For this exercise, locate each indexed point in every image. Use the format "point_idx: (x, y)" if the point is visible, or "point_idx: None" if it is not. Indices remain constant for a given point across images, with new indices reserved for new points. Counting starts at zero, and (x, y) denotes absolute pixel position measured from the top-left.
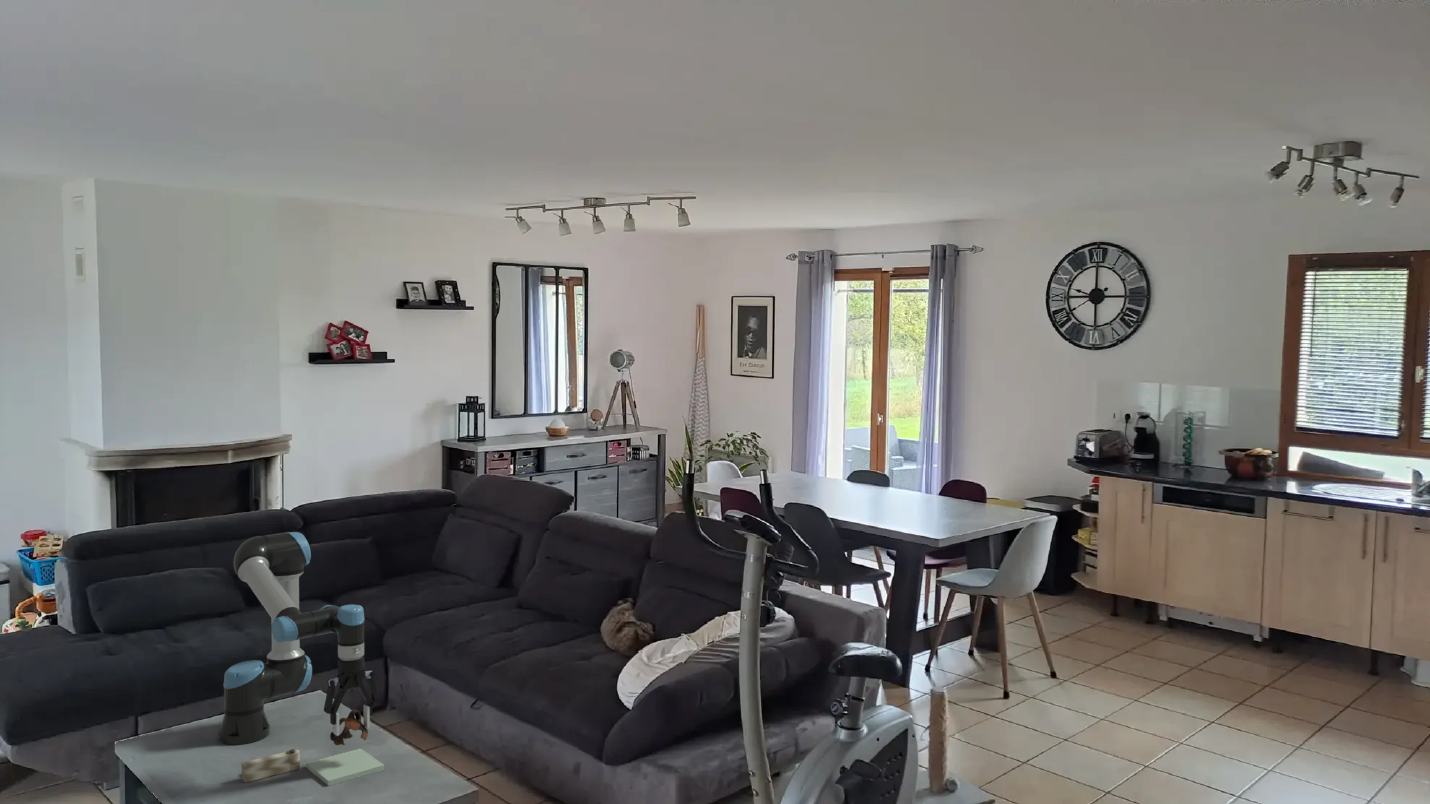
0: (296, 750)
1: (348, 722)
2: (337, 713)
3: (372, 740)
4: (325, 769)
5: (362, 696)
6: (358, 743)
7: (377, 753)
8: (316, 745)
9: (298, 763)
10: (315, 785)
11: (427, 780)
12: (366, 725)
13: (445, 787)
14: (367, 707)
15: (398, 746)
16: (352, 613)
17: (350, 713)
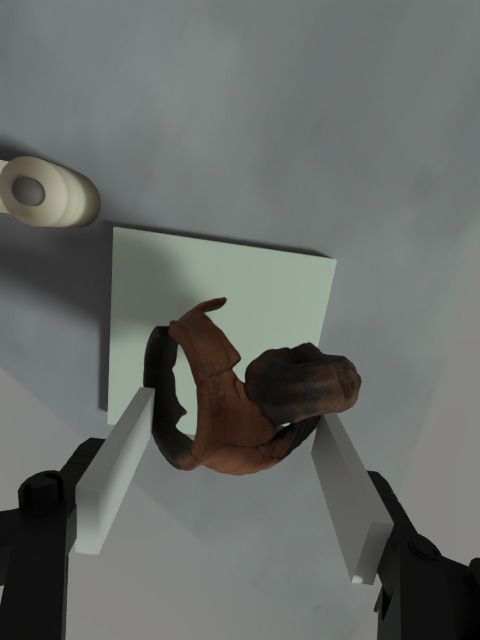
0: (54, 186)
1: (210, 458)
2: (91, 537)
3: (447, 170)
4: (140, 339)
5: (401, 628)
6: (392, 153)
7: (366, 307)
8: (265, 10)
9: (77, 223)
10: (85, 383)
11: (322, 562)
12: (315, 452)
13: (322, 614)
14: (353, 579)
15: (455, 308)
16: None
17: (280, 399)
